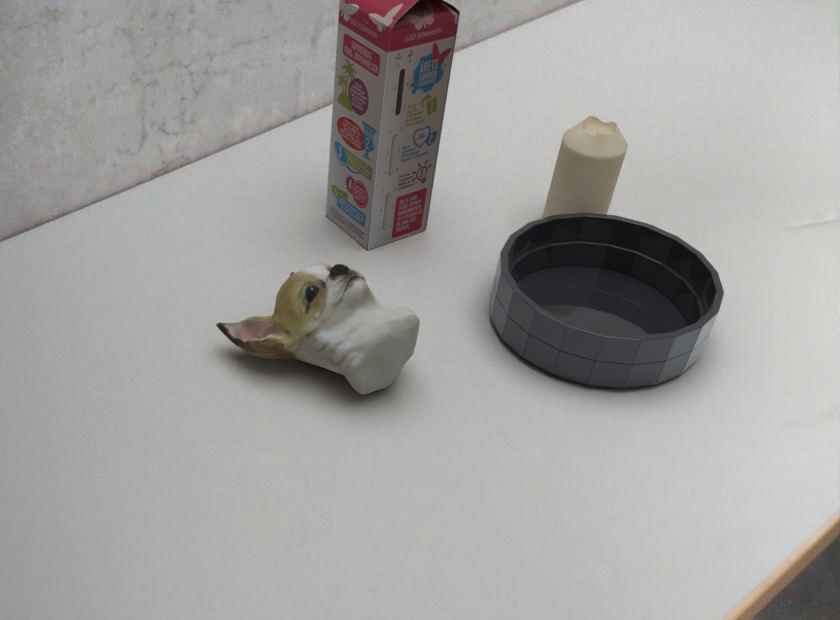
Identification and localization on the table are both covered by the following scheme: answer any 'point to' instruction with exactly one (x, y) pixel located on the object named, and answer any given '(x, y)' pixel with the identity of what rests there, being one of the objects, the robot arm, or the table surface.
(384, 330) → the ceramic sculpture
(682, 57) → the table surface
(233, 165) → the table surface
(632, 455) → the table surface
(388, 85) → the juice carton
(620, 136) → the candle
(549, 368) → the pan
